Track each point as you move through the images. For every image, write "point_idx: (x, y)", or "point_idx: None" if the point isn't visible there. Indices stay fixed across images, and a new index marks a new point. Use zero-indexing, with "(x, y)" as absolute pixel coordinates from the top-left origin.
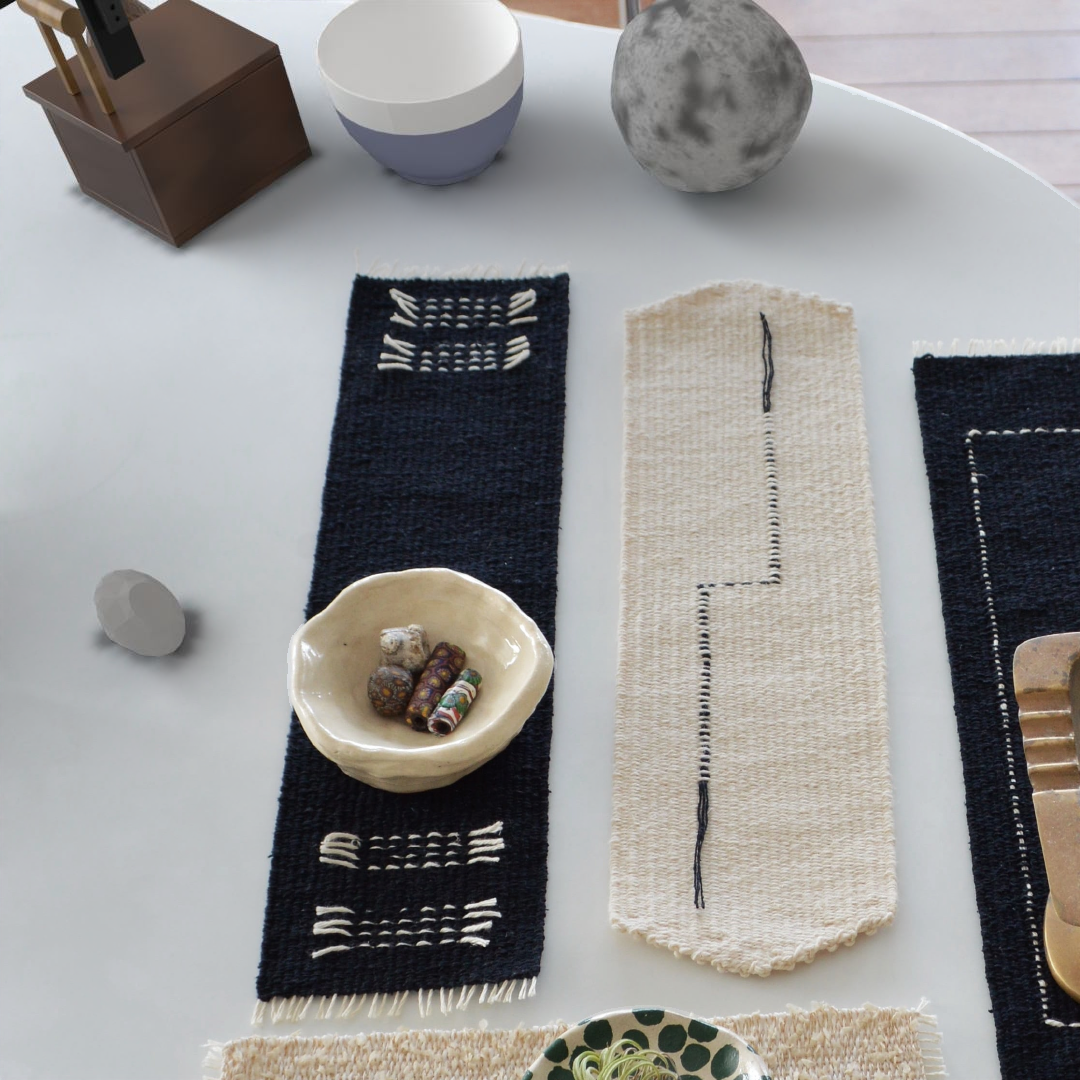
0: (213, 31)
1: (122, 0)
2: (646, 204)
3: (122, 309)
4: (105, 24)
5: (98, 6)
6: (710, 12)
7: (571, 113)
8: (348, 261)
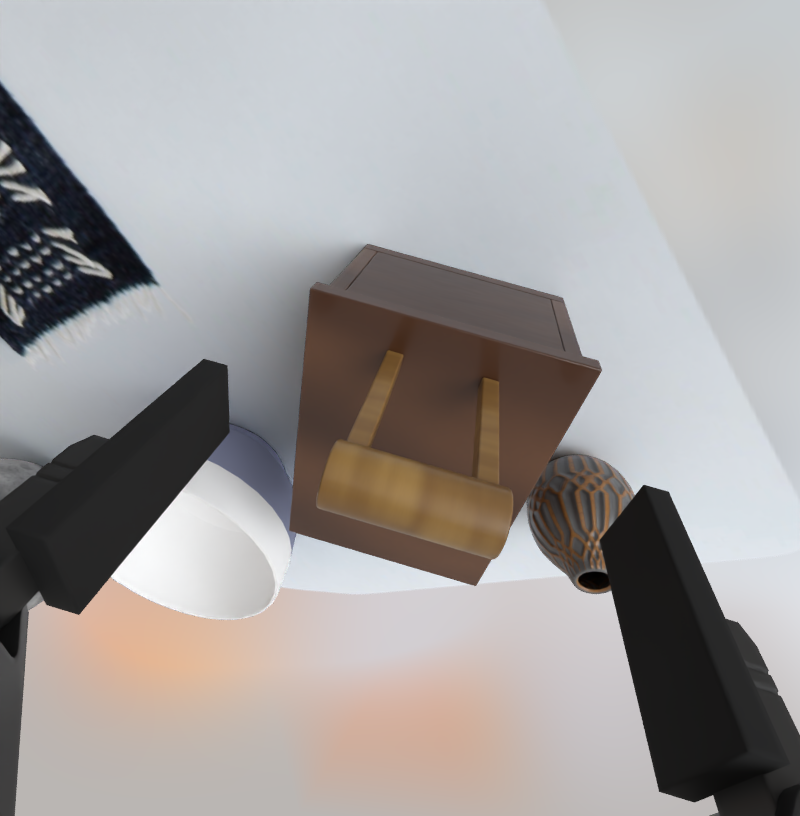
0: (379, 537)
1: (571, 571)
2: (58, 446)
3: (350, 80)
4: (86, 453)
5: (37, 491)
6: None
7: None
8: (182, 300)
